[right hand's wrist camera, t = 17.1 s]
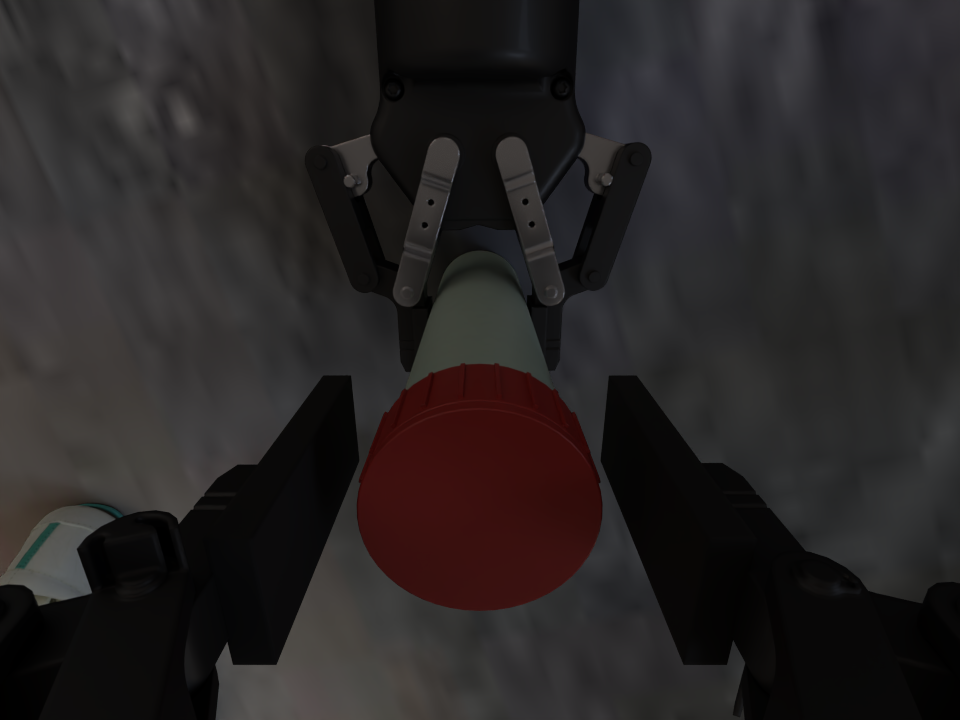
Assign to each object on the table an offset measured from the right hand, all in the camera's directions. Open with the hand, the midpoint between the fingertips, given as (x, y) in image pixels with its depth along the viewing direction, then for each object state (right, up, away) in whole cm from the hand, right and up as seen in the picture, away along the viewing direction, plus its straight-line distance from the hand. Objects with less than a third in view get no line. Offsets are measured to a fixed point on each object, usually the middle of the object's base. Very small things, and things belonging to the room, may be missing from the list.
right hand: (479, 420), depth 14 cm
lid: (0, -1, -4) cm, 4 cm away
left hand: (0, +1, +10) cm, 10 cm away
